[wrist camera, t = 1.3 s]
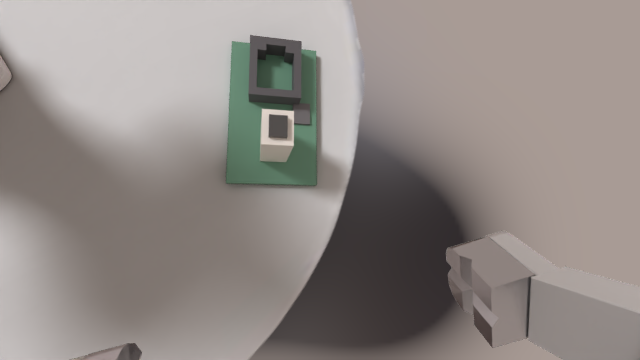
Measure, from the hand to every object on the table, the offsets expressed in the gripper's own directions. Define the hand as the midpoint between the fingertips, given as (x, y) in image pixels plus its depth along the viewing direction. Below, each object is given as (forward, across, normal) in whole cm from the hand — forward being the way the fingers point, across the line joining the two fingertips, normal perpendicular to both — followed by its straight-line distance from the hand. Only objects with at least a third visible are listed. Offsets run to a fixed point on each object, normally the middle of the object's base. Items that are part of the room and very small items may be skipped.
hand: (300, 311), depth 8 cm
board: (+38, +1, +1) cm, 38 cm away
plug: (+35, +2, +5) cm, 35 cm away
